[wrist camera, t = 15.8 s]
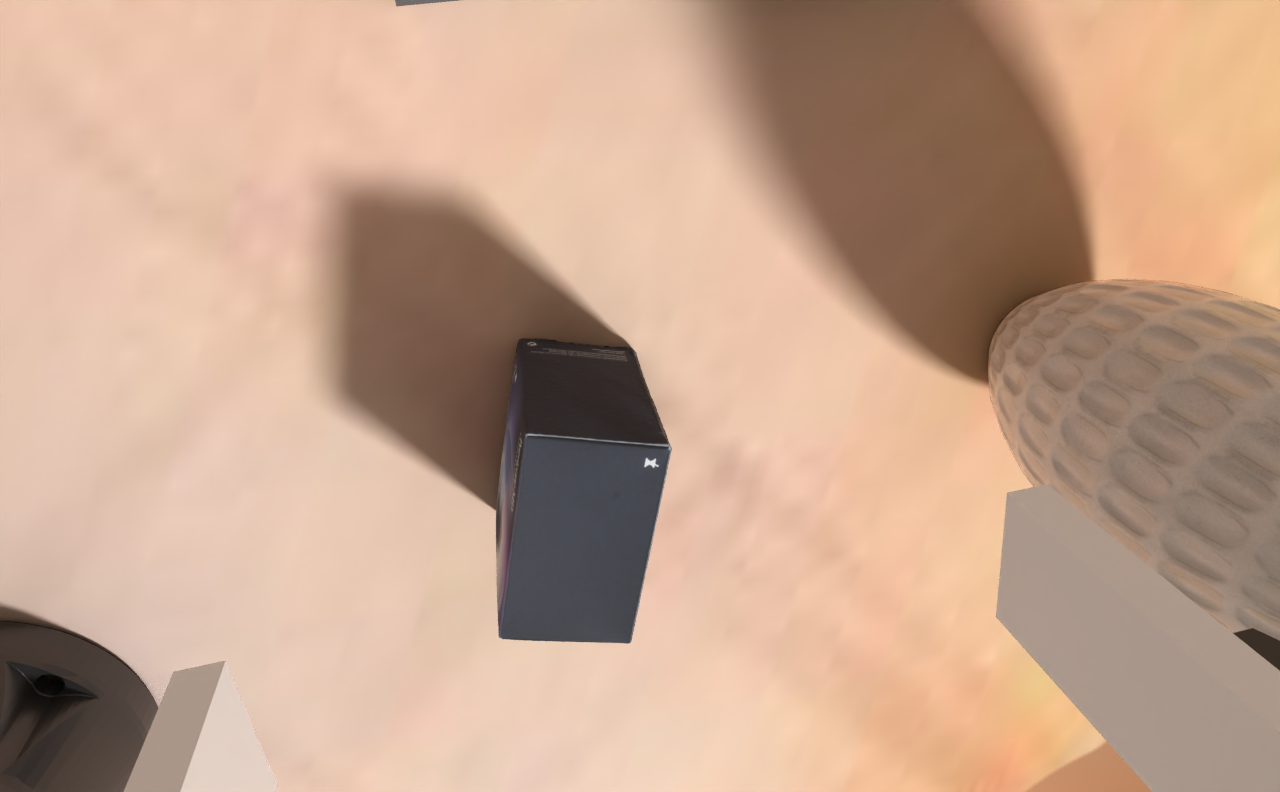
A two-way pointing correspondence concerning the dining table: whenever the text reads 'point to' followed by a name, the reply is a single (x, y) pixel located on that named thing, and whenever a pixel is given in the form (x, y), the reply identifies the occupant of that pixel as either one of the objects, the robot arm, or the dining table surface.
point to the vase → (1156, 428)
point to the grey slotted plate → (417, 2)
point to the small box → (576, 493)
